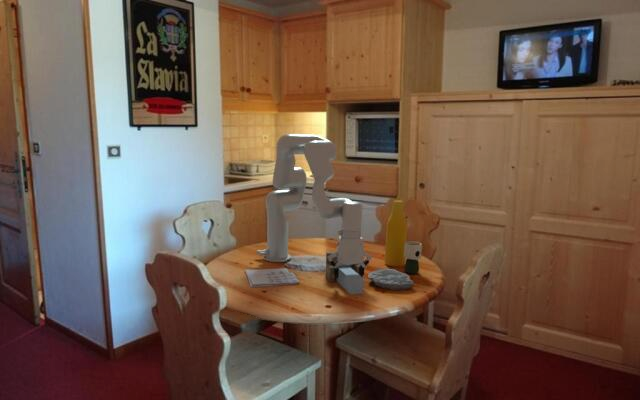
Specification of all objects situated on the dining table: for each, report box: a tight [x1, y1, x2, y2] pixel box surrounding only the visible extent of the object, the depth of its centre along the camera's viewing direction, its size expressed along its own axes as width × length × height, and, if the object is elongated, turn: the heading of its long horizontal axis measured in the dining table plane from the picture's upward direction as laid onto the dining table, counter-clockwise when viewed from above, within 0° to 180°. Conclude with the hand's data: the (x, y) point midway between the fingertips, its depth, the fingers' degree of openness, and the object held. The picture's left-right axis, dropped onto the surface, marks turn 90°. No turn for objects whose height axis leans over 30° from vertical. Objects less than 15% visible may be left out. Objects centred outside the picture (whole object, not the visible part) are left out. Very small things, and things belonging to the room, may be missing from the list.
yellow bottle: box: [384, 199, 408, 268], centre depth 212 cm, size 9×9×29 cm
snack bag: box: [244, 267, 300, 288], centre depth 191 cm, size 19×20×2 cm
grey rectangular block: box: [335, 264, 365, 295], centre depth 183 cm, size 5×16×7 cm, turn 18°
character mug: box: [403, 241, 423, 275], centre depth 201 cm, size 11×7×13 cm, turn 145°
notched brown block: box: [325, 251, 361, 283], centre depth 192 cm, size 13×9×11 cm, turn 100°
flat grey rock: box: [367, 268, 415, 291], centre depth 188 cm, size 20×17×3 cm
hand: (348, 276), depth 183 cm, fingers open, 9 cm apart
